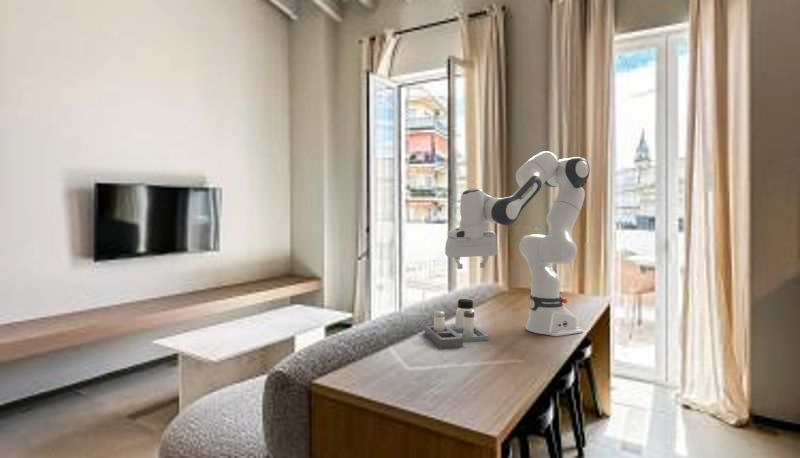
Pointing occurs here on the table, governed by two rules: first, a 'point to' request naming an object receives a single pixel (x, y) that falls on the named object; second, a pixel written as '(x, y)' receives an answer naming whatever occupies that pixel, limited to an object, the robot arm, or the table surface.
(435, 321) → the dome-capped cream cylinder
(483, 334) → the parts tray
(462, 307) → the medicine bottle
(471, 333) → the cylinder
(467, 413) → the table surface
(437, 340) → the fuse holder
